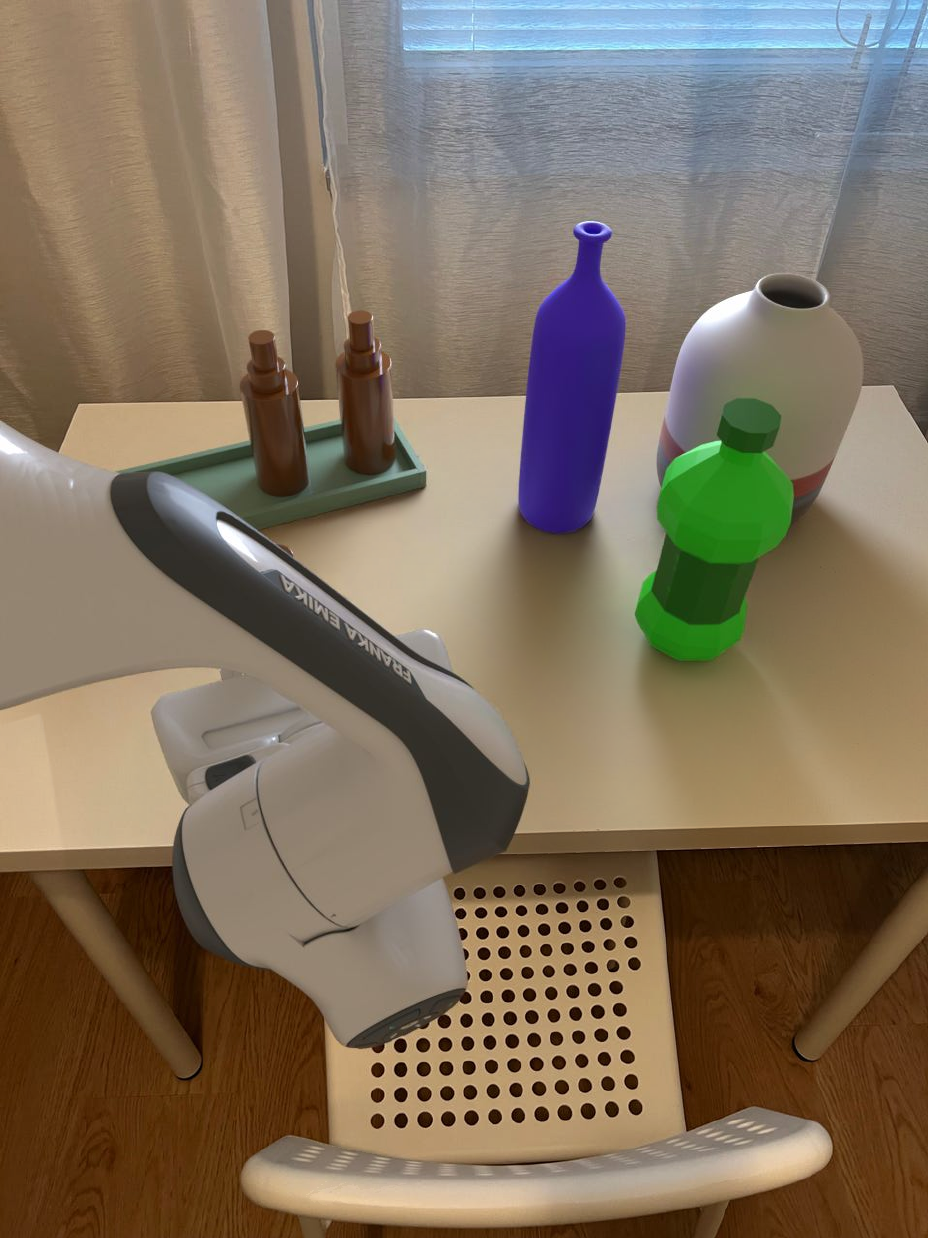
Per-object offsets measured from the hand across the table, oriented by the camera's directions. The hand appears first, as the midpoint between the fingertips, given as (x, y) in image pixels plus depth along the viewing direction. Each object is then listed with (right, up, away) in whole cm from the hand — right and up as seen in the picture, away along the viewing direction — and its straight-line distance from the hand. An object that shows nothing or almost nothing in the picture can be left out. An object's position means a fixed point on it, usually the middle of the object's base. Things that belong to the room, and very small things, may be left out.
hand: (285, 626), depth 68 cm
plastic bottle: (+33, -1, +18) cm, 38 cm away
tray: (-8, +14, +30) cm, 34 cm away
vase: (+41, +13, +31) cm, 53 cm away
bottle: (+23, +12, +29) cm, 39 cm away
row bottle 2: (+3, +18, +33) cm, 38 cm away
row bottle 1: (-6, +15, +30) cm, 34 cm away
